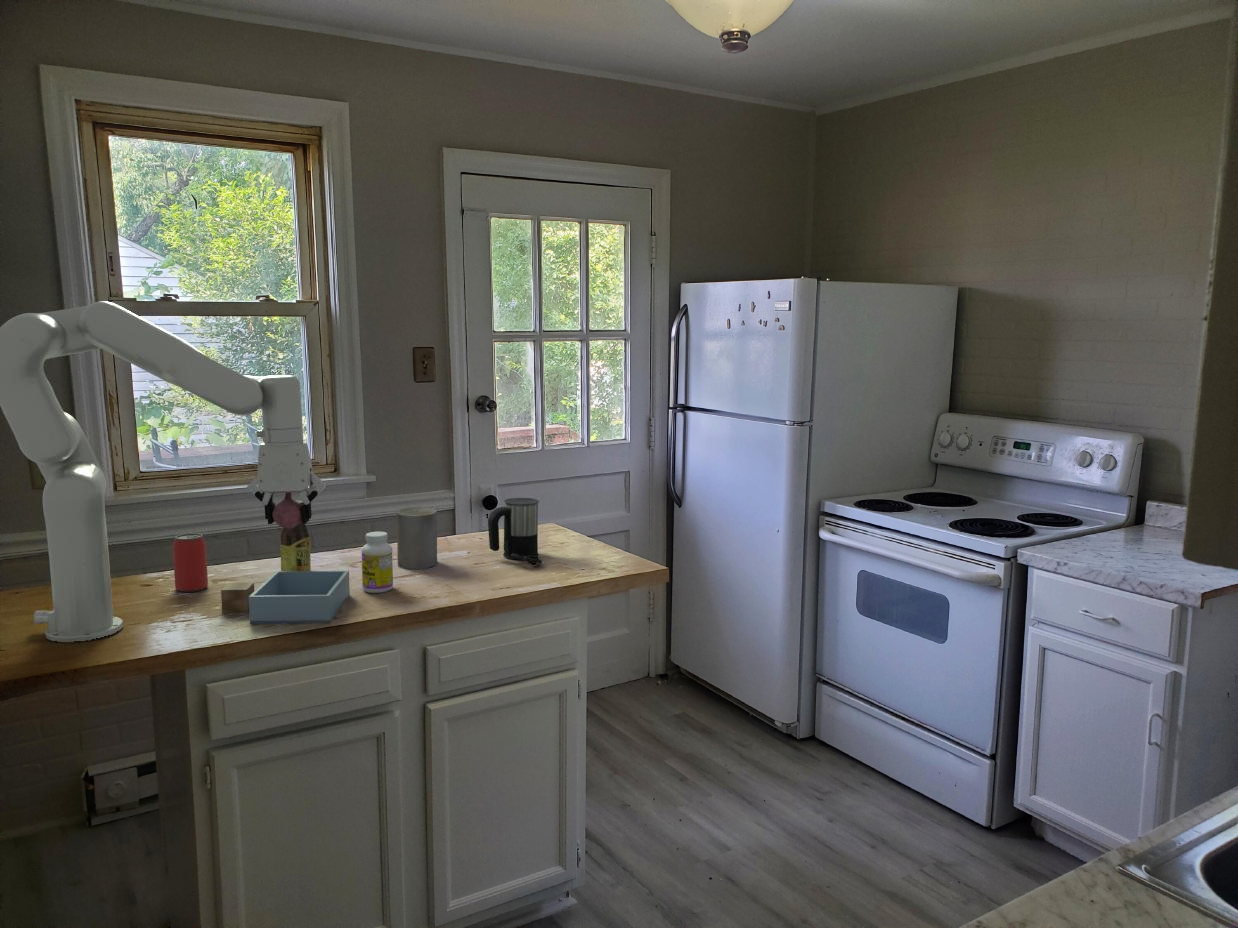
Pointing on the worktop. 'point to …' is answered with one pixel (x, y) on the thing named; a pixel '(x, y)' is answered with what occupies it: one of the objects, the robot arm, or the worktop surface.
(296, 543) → the sauce bottle
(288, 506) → the vegetable
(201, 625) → the worktop surface
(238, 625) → the worktop surface
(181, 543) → the beer can
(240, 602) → the walnut cube
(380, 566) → the supplement bottle
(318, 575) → the tote
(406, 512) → the pillar candle
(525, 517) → the milk frother
